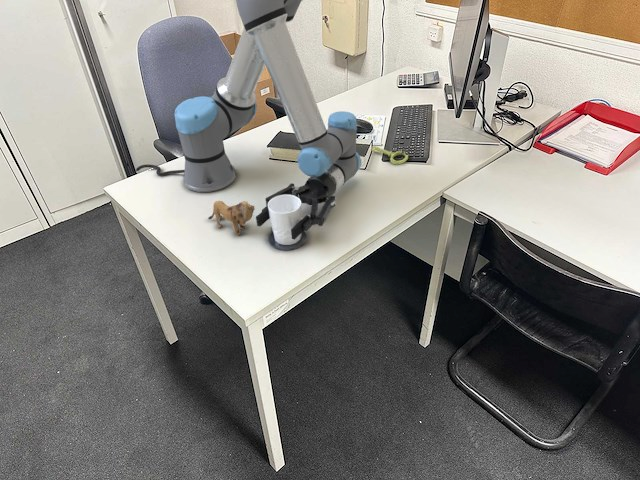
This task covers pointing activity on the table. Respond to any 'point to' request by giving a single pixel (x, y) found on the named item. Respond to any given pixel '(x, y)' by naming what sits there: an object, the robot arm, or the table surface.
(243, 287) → the table surface
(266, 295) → the table surface
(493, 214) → the table surface
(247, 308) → the table surface
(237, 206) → the lion figurine
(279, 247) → the slate coaster
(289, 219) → the white cup
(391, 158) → the key
